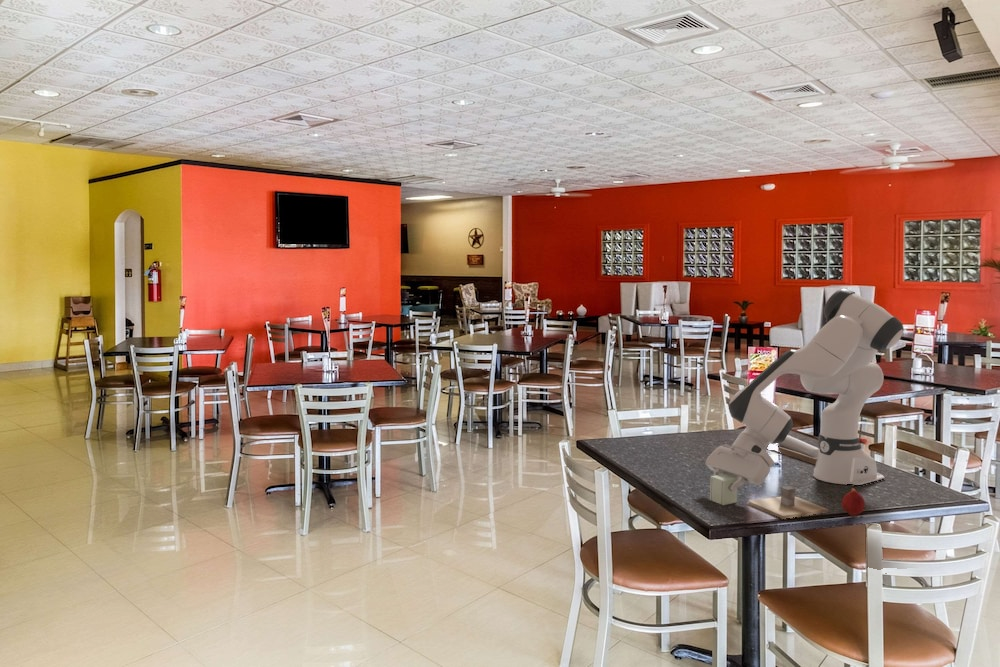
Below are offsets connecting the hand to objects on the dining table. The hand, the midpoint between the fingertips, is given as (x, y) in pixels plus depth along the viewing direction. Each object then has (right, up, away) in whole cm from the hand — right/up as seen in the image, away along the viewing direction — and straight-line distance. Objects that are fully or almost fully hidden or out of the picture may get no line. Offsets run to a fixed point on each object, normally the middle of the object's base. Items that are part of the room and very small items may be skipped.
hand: (722, 486), depth 219 cm
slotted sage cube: (+1, -4, +1) cm, 4 cm away
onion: (+33, -6, -12) cm, 35 cm away
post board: (+17, -5, -6) cm, 19 cm away
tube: (+45, +1, +57) cm, 73 cm away
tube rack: (+45, +1, +57) cm, 72 cm away
